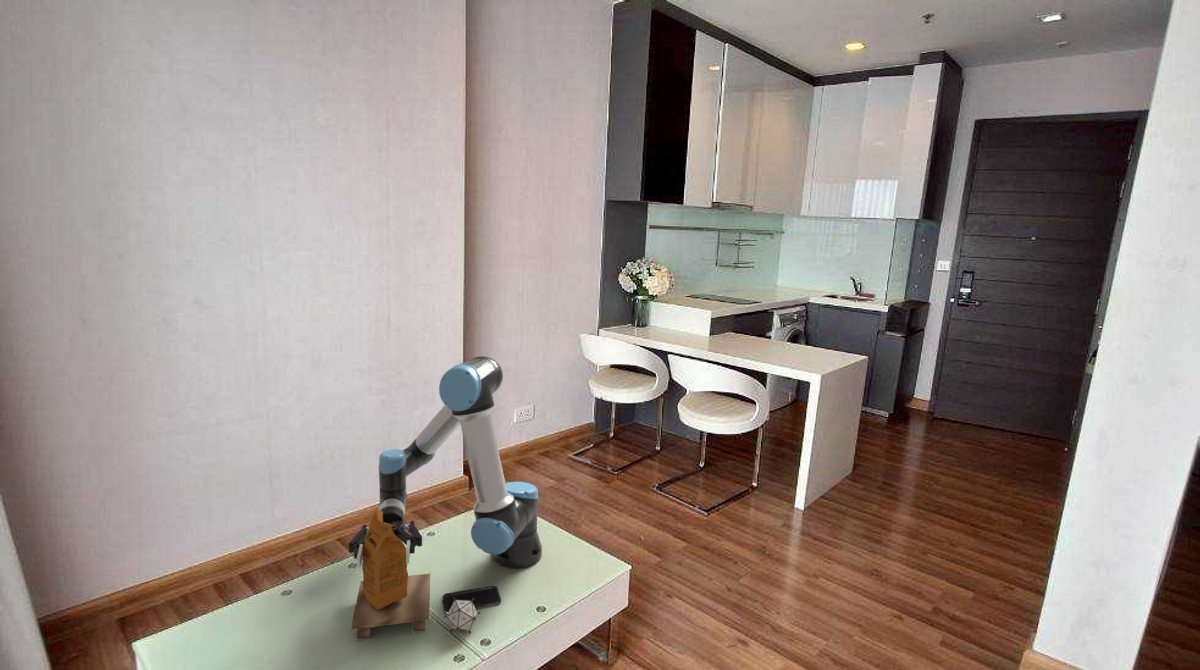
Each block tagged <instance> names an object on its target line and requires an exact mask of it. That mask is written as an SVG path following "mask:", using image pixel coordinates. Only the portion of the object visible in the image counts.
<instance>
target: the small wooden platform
mask: <svg viewBox="0 0 1200 670" xmlns="http://www.w3.org/2000/svg"><path fill="white" fill-rule="evenodd" d="M430 596H431V573H423V574H422V573H421V574H415V575H414V574H413V575H408V582H407V596H406V597H404V598H403V599H401V600H399V601H395V602H393V603H391V604H389V605H387V606H385V607H383V608H382V609H376V608H375V607H374V606H373V605H371V604H370V603H369V602H368V600H367V599H366V596H365V593H364V588H363V580H361V581H360V584H359V588H358V593H357V597H356V601H355V606H354V611H353V616H352V620H351V625H350V626H351V629H350V630H356V640H357V639H358V640H357V641H359V640H360V639H361V640H367V639H371V636H372V635H371V634H372V629H373V628H375V627H382V626H390V625H399V624H405V623H406V624H407V623H412V633H413V632H414V633H420V632H425V631H426V621H429V620H430V602H431V601H430V600H431V599H430V598H431V597H430Z"/></svg>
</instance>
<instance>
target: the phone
mask: <svg viewBox="0 0 1200 670" xmlns="http://www.w3.org/2000/svg"><path fill="white" fill-rule="evenodd" d="M453 597H455V599H456V600H472V598H474V600H473V601H472V602H473V604H474V606H475V608H476V610H477V609H484V608H489V607H494V606H495V607H496V606H499V605H501V603H502V599H501V595H500V592H499V588H498V587H497V585H490V586H489V585H488V586H482V587H478V588H476V587H475V588H472V589H471V588H470V589H466V590H465V589H464V590H459V591H454V592H447V593H444V594H443V595H442V604H444V605H443V610H445V611H446V612H448V611H449V609H450V607H451V606H452V604H453V602H454V599H453Z"/></svg>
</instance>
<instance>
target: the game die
mask: <svg viewBox="0 0 1200 670" xmlns="http://www.w3.org/2000/svg"><path fill="white" fill-rule="evenodd" d="M453 599H454V602H453V604H452V606H451V607H450V609H449V611H448V613H447V614H446V615H443V616H442V618H443V619H446V621H447V623H448V624H449V626H450V630H449V633H452V632H453V631H454V630H455V631H456V632H459V631H467V632H468V633H469V634H471V633H472V631H471V629H472V626H473V624H474V622H475V621H477V616H478V615H481V612H480V611H478V610H477V609H476V608H475V606H474V604H473V602H472V601H473V600H474V598H472V600H456V599H455V597H453Z"/></svg>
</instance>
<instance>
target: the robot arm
mask: <svg viewBox="0 0 1200 670" xmlns="http://www.w3.org/2000/svg"><path fill="white" fill-rule="evenodd" d="M503 379H504V374H503V369H502V367H501V366H500V364H499V362H497V361H496V360H495V359H494V358H492V357H489V356H485V355H481V356H476V357H474V358H471V359H469V360H467V361H464V362H461V363H459V364H456V365H454V366H452V367H451V368H449V369H448V370H447V371H445V372H444V374H443V375H442V377H441V379H440V381H439V387H438V392H439V397H440V399H441V402H442V403H443V406H442V407H441V409H440V410H439V411H438V412H437V413H436V414H435V415H434V417H433V418H431V420H430V421H429V422H428V423H427V424H426V426H425V427H424V428H423V430H422V431H421V432H420V433H419V434H418V436H417V437H416V438H415V439H414V440H413V441H412V442H411V444H410V445H409V446H407V447H406V448H404V449H398V448H397V449H396V448H395V449H394V448H393V449H389V450H385V451H384V450H383V452H381V453H380V454H379V456H378V457H379V458H378V459H379V460H378V477H379V478H378V482H379V503H378V508H377V509H379V510H381V511H382V513H383V522H385V523H388V524H392V525H395V526H396V530H393V533H394V534H395V535H396V536H397V537H398V538H399V539H400V541H401V542H402V543H403V544H404V545H405V546H406V564H407V565H408V564H410V560H411V559H410V558H411V557H410V556H411V554H415V550H416V549H415V548H416V547H422V546H423V536H422V535H421V533H420V531H419V529H417V526H416V524H415V523H416V522H415V521H414V520H411V521H409V523H405V522H404V521H405V513H406V505H407V500H408V493H407V477H408V476H409V475H411V474H413V473H414V472H416V471H417V470H418V469H421V467H424V466H425V465H427V464H429V462H431V460H433V458H434V457H435V456H436V452H437V451H438V450H440V448H441V447H442V445H443V444H444V443H445V442H446V441H447V440H448V438H449V437H450V436H451V435H453V433H454V432H455V431H456V430H457V429H458V427H459V426H460V428H461V433H462V437H463V441H464V446H465V447H464V448H465V451H466V455H467V460H468V465H469V471H470V472H471V474H470V475H471V478H472V482H473V487H474V493H475V497H476V501H475V503H474V505H473V507H472V508H473V513H474V518H475V521H473V524H472V526H471V528H470V537H471V539H472V542H473V543H474V545H475V546H476V547H477V548H478V549H480V550H482V552H484V553H485V554H489V555H492V557H493V560H494V561H495V562H496V563H497V564H499V565H500V566H502V567H504V568H510V569H521V568H522V569H523V568H527V567H530V566H532V565H535V564H536V563H538V562H539V561H540V560H541V558H542V556H543V545H542V543H541V539H540V536H539V533H538V513H539V511H538V510H539V509H538V508H539V506H538V505H539V491H538V487H536V486H535V485H534V484H532V483H530V482H525V481H509V482H506V481H505V480H506V479H505V476H504V471H503V466H502V461H501V457H500V453H499V449H498V441H497V438H496V433H495V428H494V424H493V419H492V415H491V412H492V410H493V409H494V407H495V403H494V398H493V394H494V393H495V392H497V390H498V389H499V388H500V386H501V385H502V382H503ZM368 528H369V526H367V524H363V525H362V526H361V529H360V530H359V531H358V532H357V533H356V534H355V536H353V538H351V540H350V541H349V542H348V553H350V554H352V553H353V558H354V559H355V560H356V569H361V566H362V561H363V550H364V543H365V538H366V534H367V531H368Z"/></svg>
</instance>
